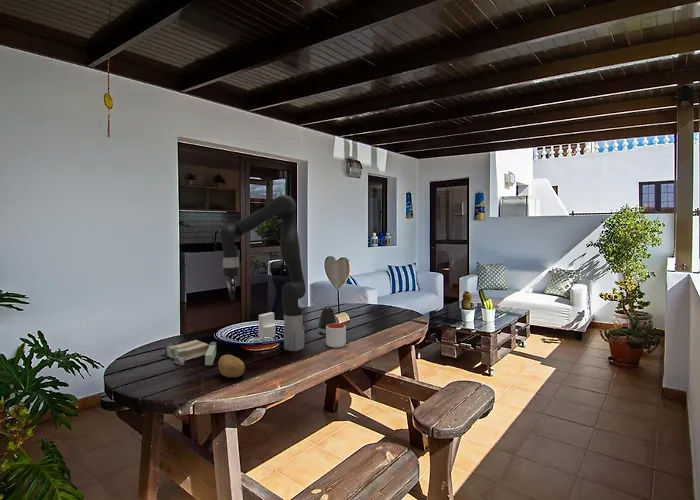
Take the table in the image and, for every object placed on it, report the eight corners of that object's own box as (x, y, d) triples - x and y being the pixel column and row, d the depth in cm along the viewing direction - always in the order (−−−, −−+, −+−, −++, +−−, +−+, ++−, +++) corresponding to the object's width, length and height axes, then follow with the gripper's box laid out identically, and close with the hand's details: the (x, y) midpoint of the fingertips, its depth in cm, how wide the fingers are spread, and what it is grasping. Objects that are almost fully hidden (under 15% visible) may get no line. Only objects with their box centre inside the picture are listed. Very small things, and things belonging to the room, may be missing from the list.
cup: (348, 343, 206) (349, 324, 205) (340, 349, 197) (340, 329, 196) (331, 341, 210) (331, 322, 209) (322, 346, 201) (322, 327, 200)
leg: (210, 352, 191) (210, 342, 190) (216, 352, 191) (216, 341, 191) (205, 365, 174) (204, 354, 174) (211, 365, 175) (211, 353, 174)
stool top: (215, 355, 187) (215, 344, 187) (180, 366, 174) (180, 354, 173) (193, 346, 199) (192, 336, 199) (158, 355, 186) (158, 344, 185)
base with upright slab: (265, 339, 212) (265, 317, 211) (254, 336, 217) (254, 314, 216) (278, 335, 219) (278, 313, 218) (267, 332, 224) (267, 311, 223)
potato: (228, 385, 155) (228, 365, 154) (212, 374, 165) (212, 355, 164) (251, 378, 161) (251, 359, 161) (234, 368, 172) (234, 350, 171)
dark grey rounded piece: (326, 337, 217) (326, 309, 216) (314, 332, 225) (314, 305, 223) (340, 333, 224) (340, 306, 222) (329, 329, 231) (329, 303, 230)
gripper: (240, 267, 195) (241, 300, 197) (236, 264, 209) (237, 295, 210) (224, 268, 193) (225, 301, 194) (221, 264, 206) (222, 296, 207)
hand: (231, 298), depth 202 cm, fingers open, 8 cm apart
